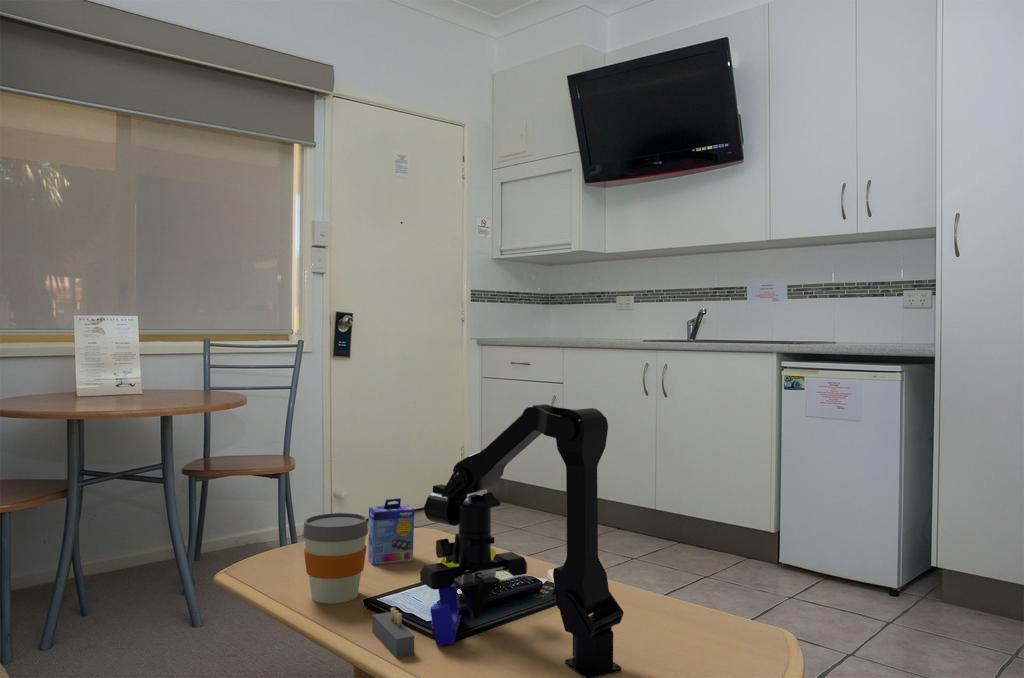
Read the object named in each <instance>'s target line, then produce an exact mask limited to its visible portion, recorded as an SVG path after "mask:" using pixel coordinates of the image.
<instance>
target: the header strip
mask: <svg viewBox="0 0 1024 678" xmlns="http://www.w3.org/2000/svg"><path fill="white" fill-rule="evenodd" d="M371 620H372V627H371V628H372V629H371V633H372V634H373V635H374V636H375V637H376V638H377V640H379V641H380V643H382V644H383V645H384V646H385V648H386V649H387V650H389V652H390V653H391V654H392V655H393V656H394V657H395V658H396V659H398V658H404V657H408V656H414V655H415V634H413V632H411V631H410V629H408V628H407V627H406V626H405V625H403V623H402V622H403V613H401V612H399V610H397V608H396V607H391V608H390V612H389V611H388V612H387V611H386V612H381V613H375V614H372V617H371Z"/></svg>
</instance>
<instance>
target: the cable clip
mask: <svg viewBox="0 0 1024 678" xmlns="http://www.w3.org/2000/svg"><path fill="white" fill-rule="evenodd" d="M438 595H439V602H437V603H433V606H431V607H430V616H431V617H430V618H431V623H430V627H431V626H433V629H434V633H433V635H434V640H435V646H436V647H439V646H444V645H449V644H455V642H456V638H457V635H456V632H457V633H458V631H457V629H458V630H459V627H460V623H461V620H460V618H461V619H462V614H461V615H459V611H458V603H459V604H460V601H459V596H458V593H457V587H456V584H452V586H451V587H448V588H443V589H438ZM438 603H440V605H438ZM450 608H452V609H451V610H450ZM459 622H460V623H459ZM458 626H459V627H458Z"/></svg>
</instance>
